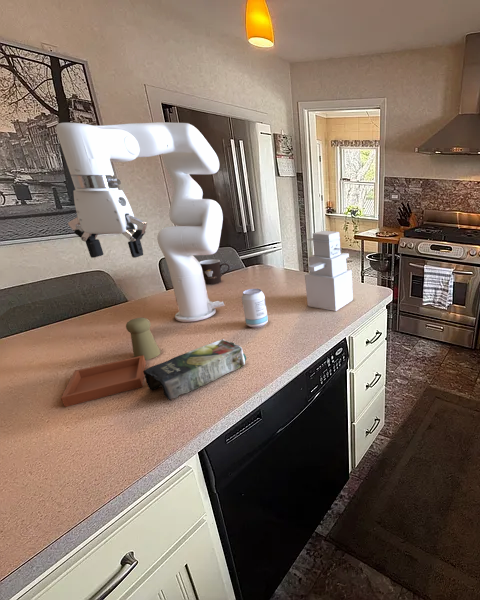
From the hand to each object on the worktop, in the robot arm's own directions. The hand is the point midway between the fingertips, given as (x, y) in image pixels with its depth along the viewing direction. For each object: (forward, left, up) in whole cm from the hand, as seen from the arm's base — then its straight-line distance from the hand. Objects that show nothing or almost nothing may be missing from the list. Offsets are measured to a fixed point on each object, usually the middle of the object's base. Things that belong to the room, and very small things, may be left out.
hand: (117, 256), depth 81 cm
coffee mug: (-23, -64, -28) cm, 74 cm away
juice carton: (-12, +20, -28) cm, 37 cm away
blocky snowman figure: (-59, -11, -28) cm, 66 cm away
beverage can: (-30, -5, -28) cm, 42 cm away
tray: (+7, +11, -28) cm, 31 cm away
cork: (0, 0, -28) cm, 29 cm away
